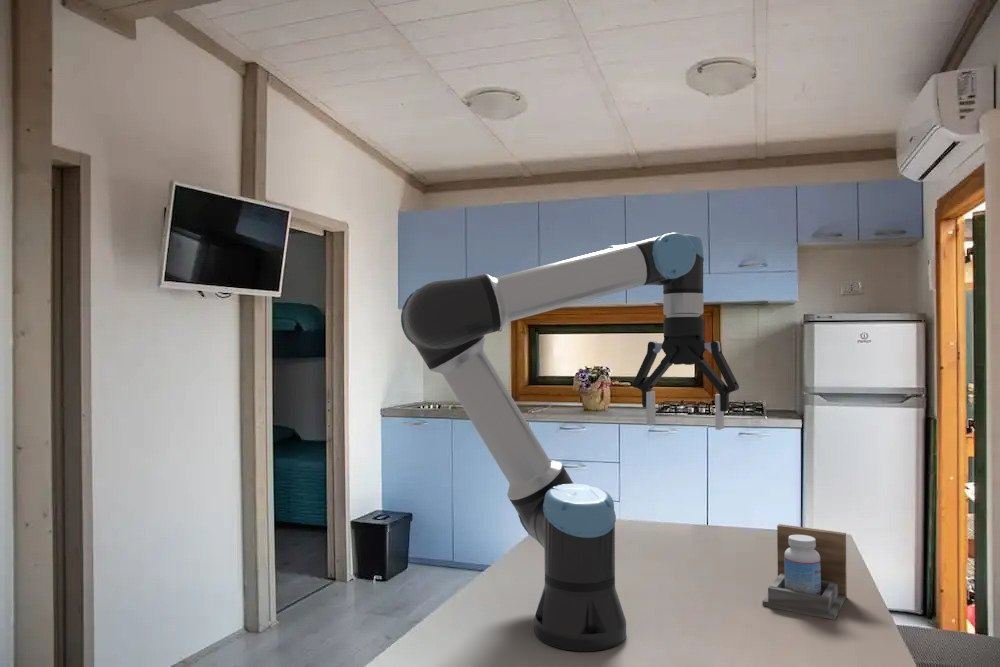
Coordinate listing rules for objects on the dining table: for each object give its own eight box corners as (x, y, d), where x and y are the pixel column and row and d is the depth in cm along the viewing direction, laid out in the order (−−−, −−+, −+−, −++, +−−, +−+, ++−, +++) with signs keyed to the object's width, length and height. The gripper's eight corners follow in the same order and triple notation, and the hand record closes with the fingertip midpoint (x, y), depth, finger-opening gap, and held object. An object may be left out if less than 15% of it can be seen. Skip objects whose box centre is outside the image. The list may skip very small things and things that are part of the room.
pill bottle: (824, 606, 127) (823, 543, 127) (788, 604, 128) (787, 541, 128) (816, 594, 133) (816, 534, 133) (782, 592, 134) (781, 532, 134)
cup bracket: (834, 619, 123) (833, 550, 123) (762, 605, 130) (761, 539, 130) (846, 597, 134) (845, 533, 134) (779, 585, 140) (779, 524, 141)
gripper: (755, 315, 133) (756, 428, 133) (631, 318, 147) (632, 421, 147) (743, 314, 127) (745, 433, 127) (615, 317, 141) (616, 424, 141)
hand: (684, 426), depth 137 cm, fingers open, 13 cm apart
